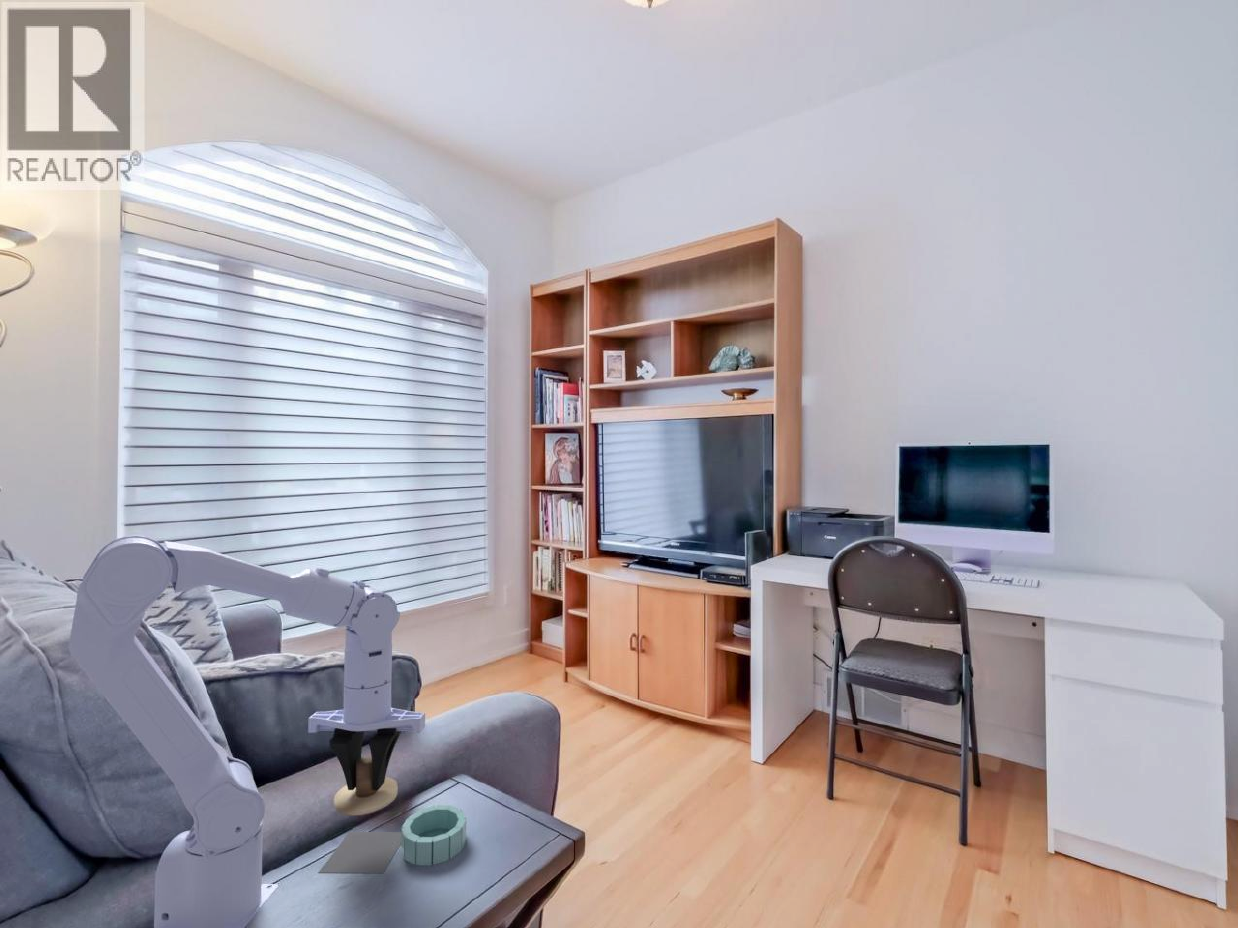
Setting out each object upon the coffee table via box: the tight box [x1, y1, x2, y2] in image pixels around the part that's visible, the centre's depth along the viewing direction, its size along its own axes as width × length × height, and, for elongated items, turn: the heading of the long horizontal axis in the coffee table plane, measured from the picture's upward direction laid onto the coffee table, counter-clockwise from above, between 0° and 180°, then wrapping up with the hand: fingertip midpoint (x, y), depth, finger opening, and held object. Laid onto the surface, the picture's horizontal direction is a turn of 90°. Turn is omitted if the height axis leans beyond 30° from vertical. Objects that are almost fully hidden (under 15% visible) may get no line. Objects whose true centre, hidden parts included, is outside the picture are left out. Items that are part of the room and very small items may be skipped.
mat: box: [318, 831, 402, 874], centre depth 74 cm, size 8×8×1 cm
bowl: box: [400, 804, 467, 866], centre depth 75 cm, size 8×8×3 cm
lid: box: [333, 755, 399, 816], centre depth 74 cm, size 8×8×5 cm
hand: (366, 786), depth 74 cm, fingers closed on lid, 3 cm apart
